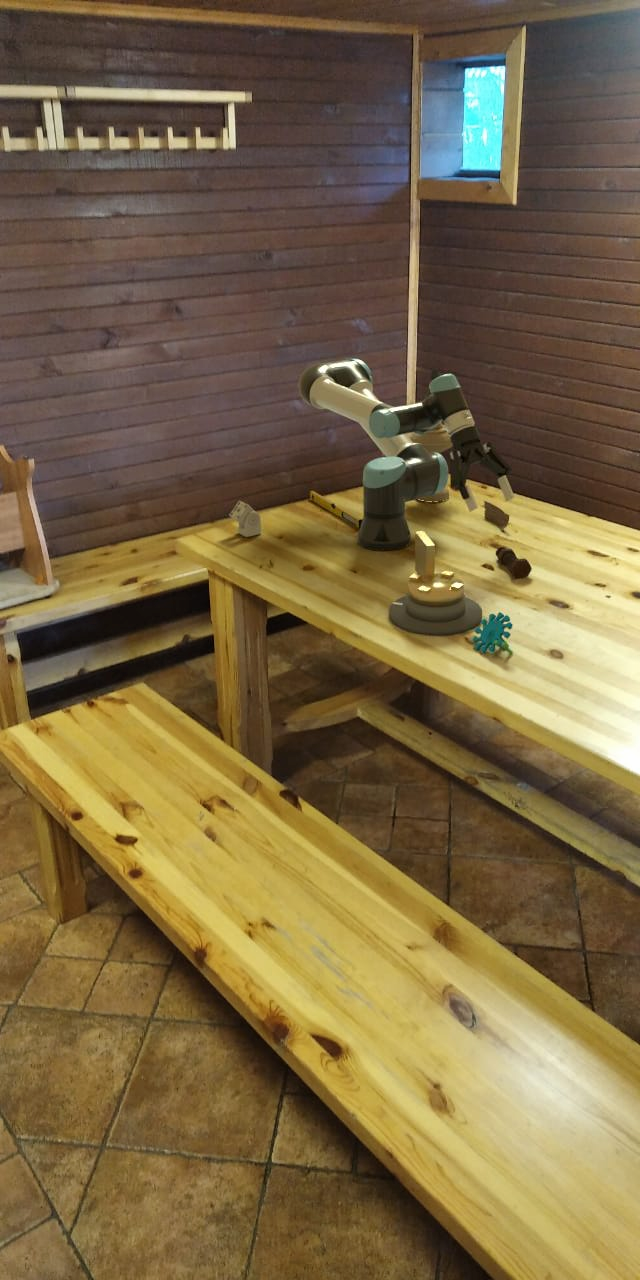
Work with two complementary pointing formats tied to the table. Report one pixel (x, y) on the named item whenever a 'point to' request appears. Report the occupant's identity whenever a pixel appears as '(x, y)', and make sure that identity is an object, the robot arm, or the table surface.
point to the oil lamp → (434, 444)
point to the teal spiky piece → (493, 633)
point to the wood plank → (496, 515)
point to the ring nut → (432, 578)
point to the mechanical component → (246, 519)
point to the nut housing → (435, 617)
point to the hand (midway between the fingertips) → (492, 504)
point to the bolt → (513, 563)
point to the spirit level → (335, 509)
